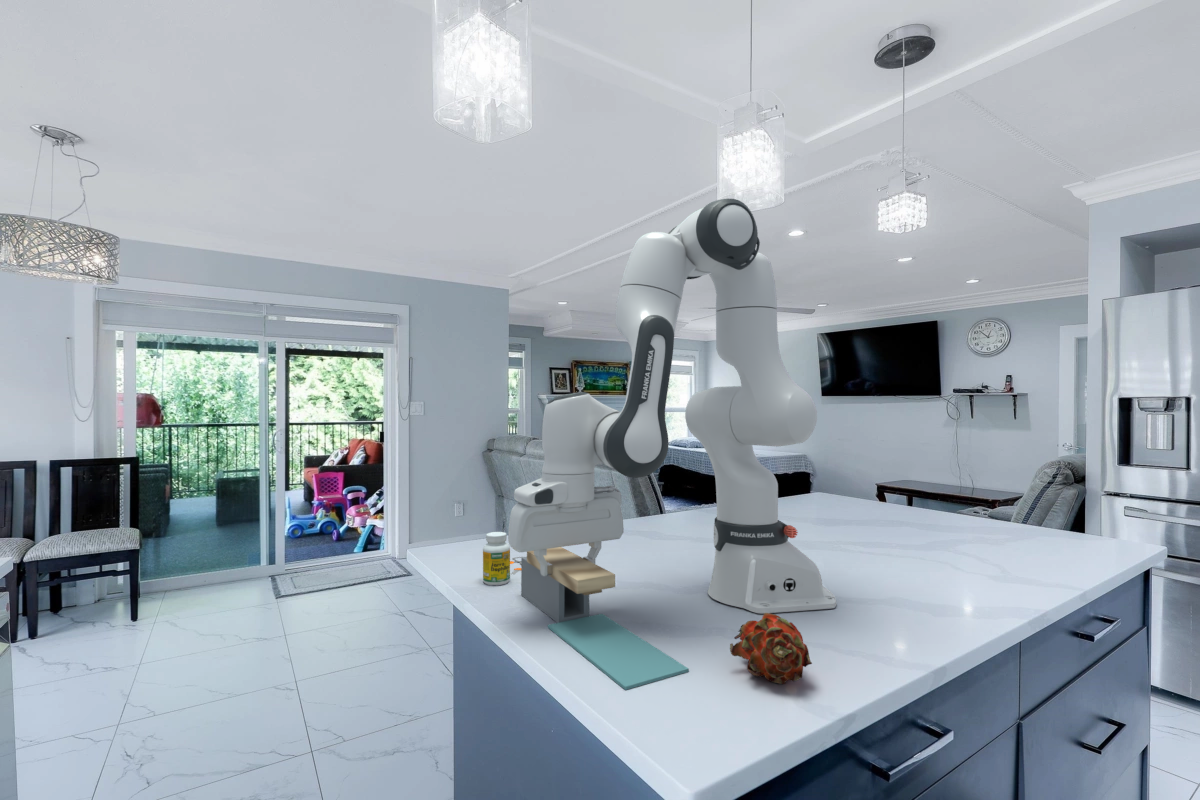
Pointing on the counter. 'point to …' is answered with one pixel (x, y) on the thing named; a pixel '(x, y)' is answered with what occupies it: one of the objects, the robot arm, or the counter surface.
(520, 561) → the key chain
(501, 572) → the supplement bottle
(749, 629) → the dragon fruit
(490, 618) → the counter surface
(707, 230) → the robot arm
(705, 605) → the counter surface
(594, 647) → the teal mat
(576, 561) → the oak lid
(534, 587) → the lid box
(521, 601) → the counter surface
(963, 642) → the counter surface
